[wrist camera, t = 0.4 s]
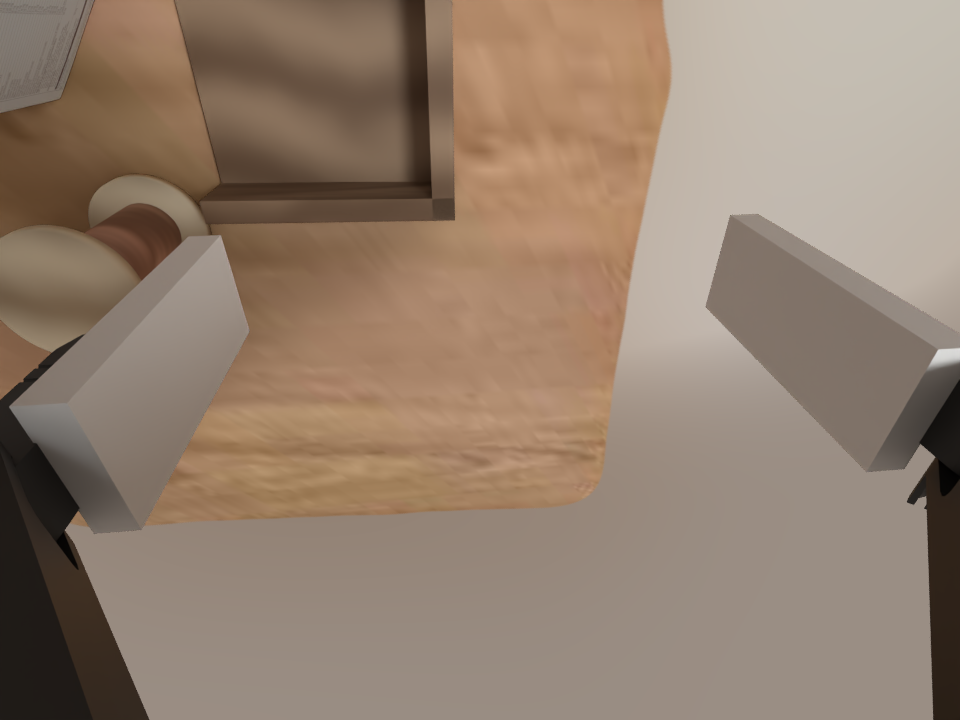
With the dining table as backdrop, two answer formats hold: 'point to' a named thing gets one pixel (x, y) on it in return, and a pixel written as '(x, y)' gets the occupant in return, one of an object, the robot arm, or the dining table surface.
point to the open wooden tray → (325, 108)
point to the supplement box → (38, 48)
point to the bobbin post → (92, 258)
